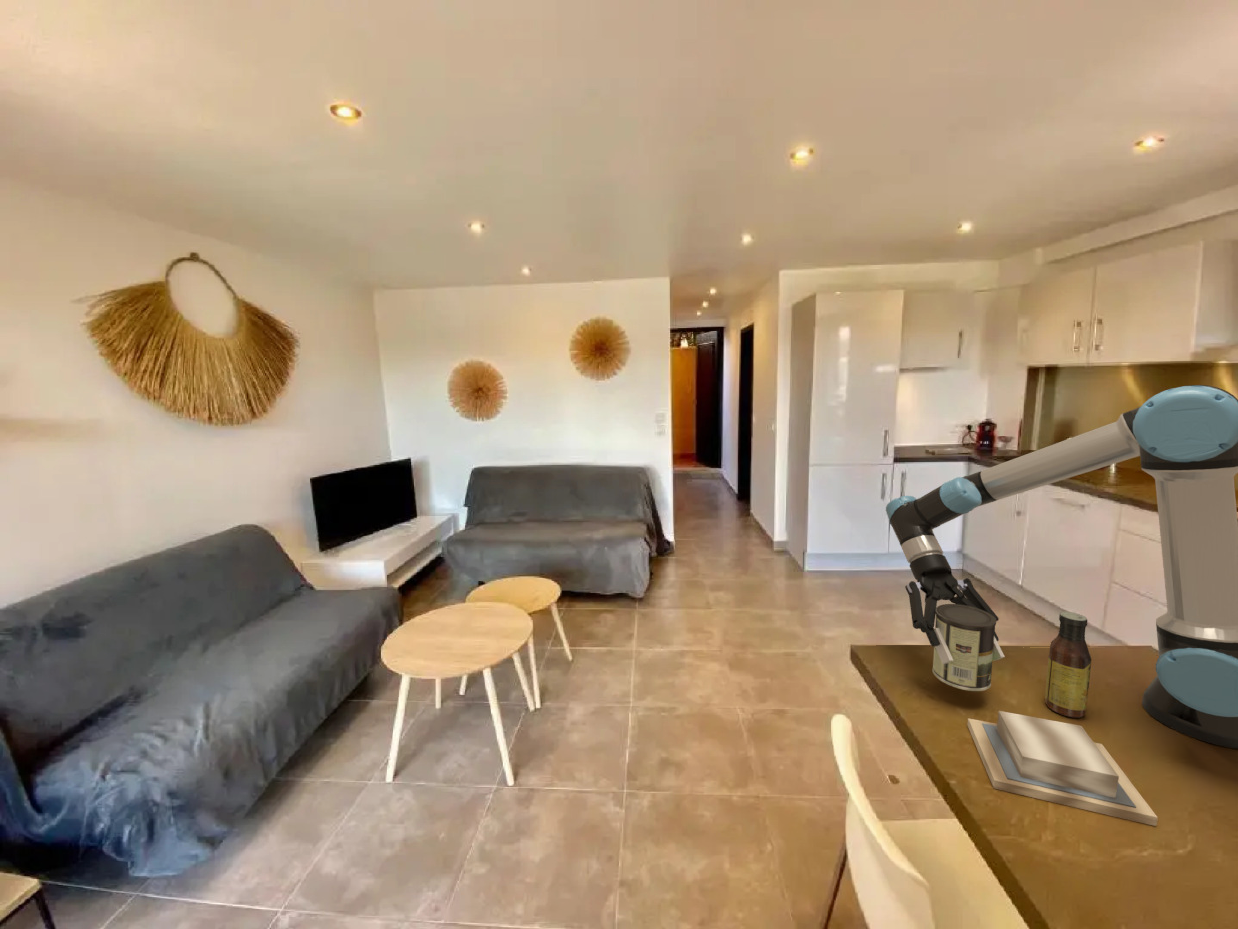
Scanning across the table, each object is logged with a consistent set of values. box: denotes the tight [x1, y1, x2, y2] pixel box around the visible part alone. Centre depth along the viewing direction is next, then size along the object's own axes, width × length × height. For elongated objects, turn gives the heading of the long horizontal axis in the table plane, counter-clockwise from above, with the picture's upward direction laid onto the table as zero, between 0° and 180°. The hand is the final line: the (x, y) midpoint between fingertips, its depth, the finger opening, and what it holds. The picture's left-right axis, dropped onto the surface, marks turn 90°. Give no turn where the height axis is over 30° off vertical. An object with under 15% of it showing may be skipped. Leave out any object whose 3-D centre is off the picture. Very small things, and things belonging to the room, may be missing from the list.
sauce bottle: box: [1044, 611, 1092, 719], centre depth 98 cm, size 6×6×20 cm
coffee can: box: [932, 603, 997, 692], centre depth 103 cm, size 10×10×14 cm
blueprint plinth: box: [967, 710, 1159, 827], centre depth 84 cm, size 20×16×6 cm
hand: (973, 660), depth 100 cm, fingers closed on coffee can, 10 cm apart
